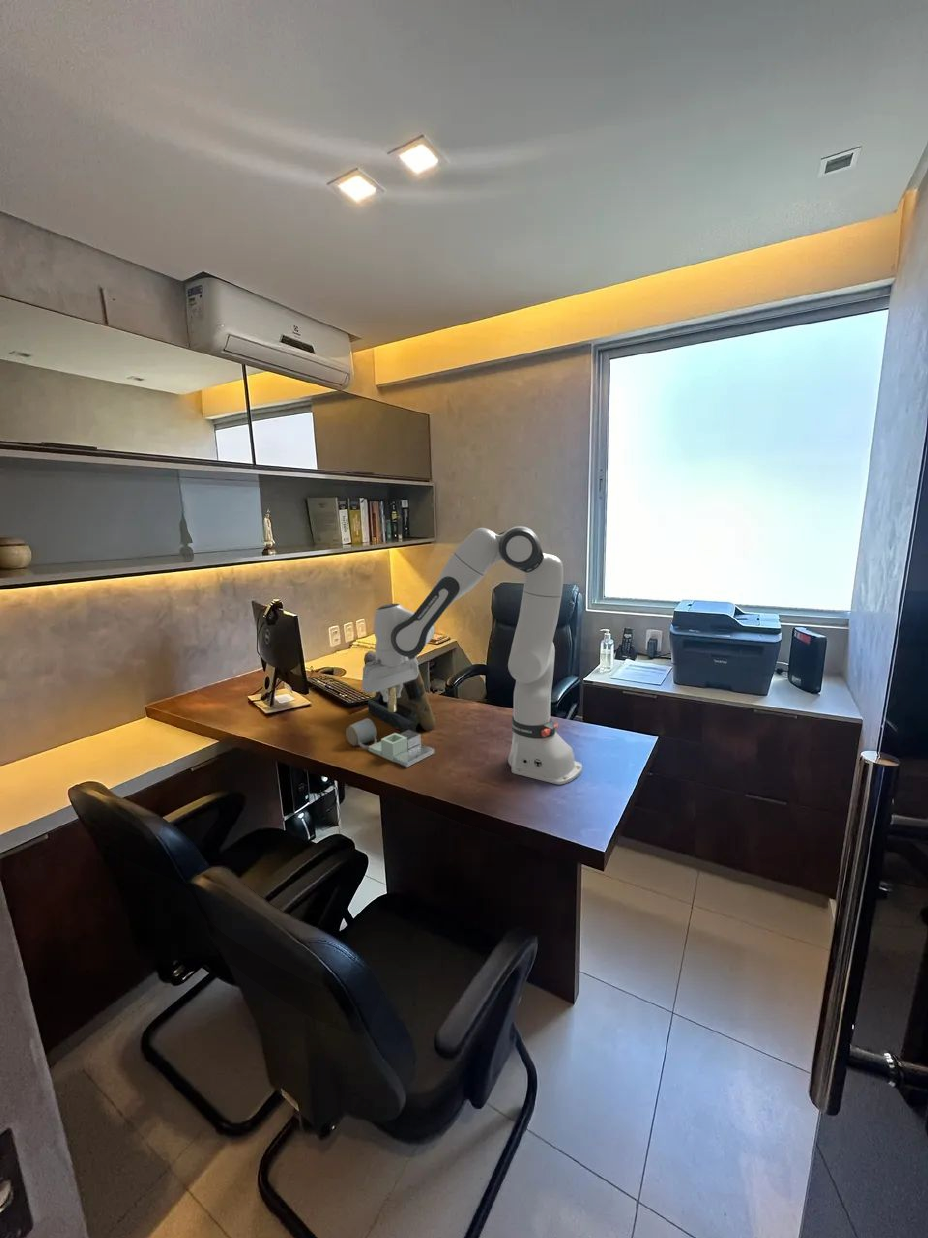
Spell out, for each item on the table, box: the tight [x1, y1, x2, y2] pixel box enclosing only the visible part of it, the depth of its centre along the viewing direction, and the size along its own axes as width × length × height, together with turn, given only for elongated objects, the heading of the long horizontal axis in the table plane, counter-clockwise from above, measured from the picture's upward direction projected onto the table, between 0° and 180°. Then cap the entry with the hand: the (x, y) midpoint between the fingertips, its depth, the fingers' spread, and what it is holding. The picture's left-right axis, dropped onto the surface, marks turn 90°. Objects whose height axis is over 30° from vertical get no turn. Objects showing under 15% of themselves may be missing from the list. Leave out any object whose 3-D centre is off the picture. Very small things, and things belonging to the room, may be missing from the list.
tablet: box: [363, 650, 436, 733], centre depth 182 cm, size 33×14×25 cm, turn 46°
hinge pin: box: [387, 686, 397, 712], centre depth 152 cm, size 3×3×9 cm
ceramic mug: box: [345, 717, 378, 750], centre depth 164 cm, size 11×8×8 cm
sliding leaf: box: [393, 730, 435, 768], centre depth 156 cm, size 12×12×5 cm
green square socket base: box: [368, 732, 407, 763], centre depth 160 cm, size 12×12×6 cm
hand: (392, 699), depth 152 cm, fingers closed on hinge pin, 3 cm apart
